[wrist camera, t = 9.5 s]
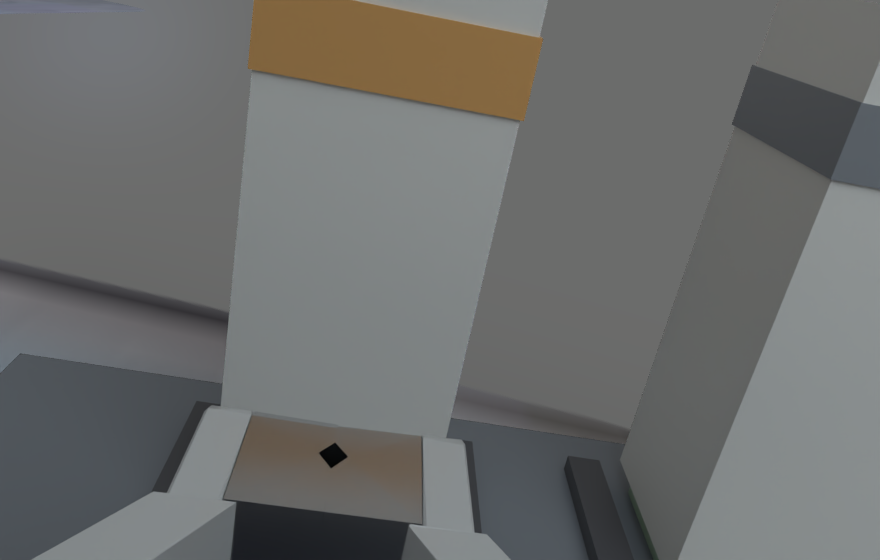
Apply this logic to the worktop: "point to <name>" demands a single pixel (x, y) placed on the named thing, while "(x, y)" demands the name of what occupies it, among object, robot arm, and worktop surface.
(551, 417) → the worktop surface
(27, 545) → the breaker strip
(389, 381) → the breaker toggle
